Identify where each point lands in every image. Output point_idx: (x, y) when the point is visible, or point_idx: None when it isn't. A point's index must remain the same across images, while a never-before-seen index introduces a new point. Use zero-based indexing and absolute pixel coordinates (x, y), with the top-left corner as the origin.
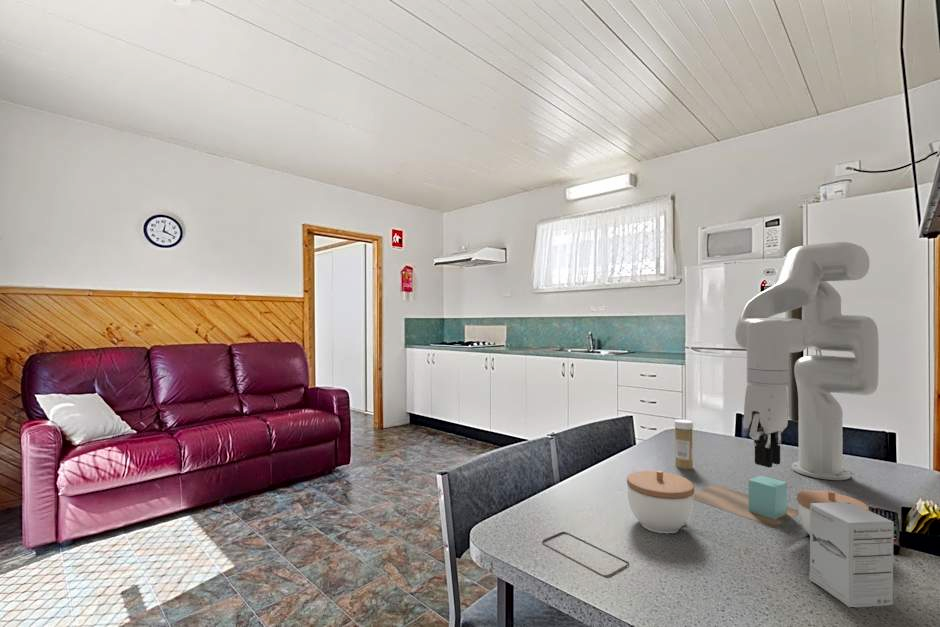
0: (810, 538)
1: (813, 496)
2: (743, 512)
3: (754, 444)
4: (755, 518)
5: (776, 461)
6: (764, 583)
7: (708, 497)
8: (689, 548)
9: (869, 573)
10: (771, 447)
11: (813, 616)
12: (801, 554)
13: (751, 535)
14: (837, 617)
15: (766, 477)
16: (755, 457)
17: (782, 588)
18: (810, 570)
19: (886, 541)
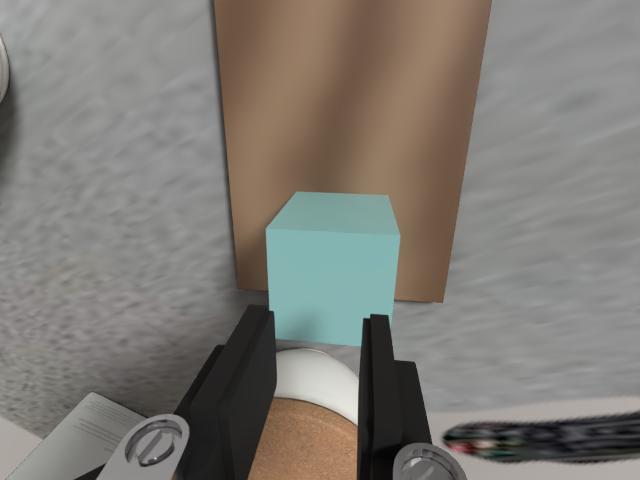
0: (11, 473)
1: (267, 454)
2: (265, 187)
3: (135, 432)
4: (251, 233)
5: (358, 397)
6: (6, 346)
7: (292, 13)
8: None
9: None
10: (359, 462)
11: (4, 413)
12: (179, 357)
13: (164, 255)
14: (36, 432)
15: (387, 268)
16: (235, 331)
17: (23, 369)
18: (73, 409)
19: None
